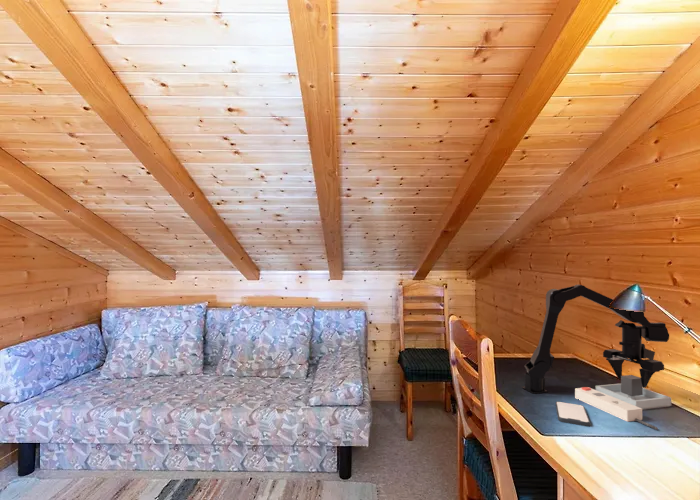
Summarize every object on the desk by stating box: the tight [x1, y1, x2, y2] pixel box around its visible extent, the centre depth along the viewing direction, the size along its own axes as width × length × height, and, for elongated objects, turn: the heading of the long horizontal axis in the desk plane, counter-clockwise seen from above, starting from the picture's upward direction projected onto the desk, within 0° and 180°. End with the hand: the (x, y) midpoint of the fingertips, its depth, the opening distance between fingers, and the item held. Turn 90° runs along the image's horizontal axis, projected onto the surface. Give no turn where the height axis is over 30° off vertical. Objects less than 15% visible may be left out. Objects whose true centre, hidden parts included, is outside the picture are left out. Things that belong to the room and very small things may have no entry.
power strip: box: [574, 386, 659, 431], centre depth 125 cm, size 27×6×4 cm, turn 14°
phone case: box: [555, 401, 591, 428], centre depth 123 cm, size 9×2×16 cm
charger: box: [620, 374, 643, 399], centre depth 136 cm, size 4×5×8 cm
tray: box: [595, 382, 672, 411], centre depth 136 cm, size 16×16×3 cm
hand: (631, 383), depth 136 cm, fingers open, 9 cm apart
